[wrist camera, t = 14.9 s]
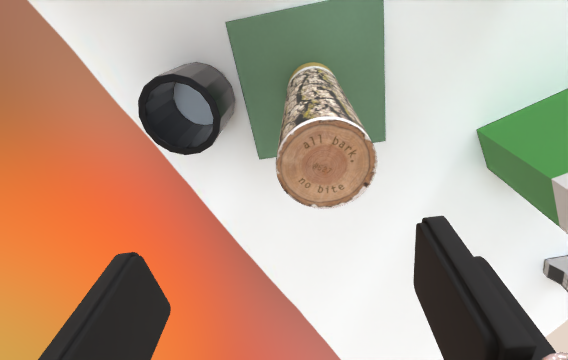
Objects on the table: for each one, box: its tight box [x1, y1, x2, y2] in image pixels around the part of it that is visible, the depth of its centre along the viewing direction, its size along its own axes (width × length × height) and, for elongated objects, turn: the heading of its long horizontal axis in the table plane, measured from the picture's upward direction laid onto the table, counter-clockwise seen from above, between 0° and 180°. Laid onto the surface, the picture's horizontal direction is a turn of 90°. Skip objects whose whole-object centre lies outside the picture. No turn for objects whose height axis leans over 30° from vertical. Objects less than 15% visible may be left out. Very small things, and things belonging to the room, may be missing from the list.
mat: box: [226, 0, 385, 159], centre depth 42 cm, size 20×20×1 cm
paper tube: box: [276, 62, 377, 209], centre depth 30 cm, size 7×7×25 cm
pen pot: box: [138, 62, 235, 155], centre depth 39 cm, size 10×10×9 cm
